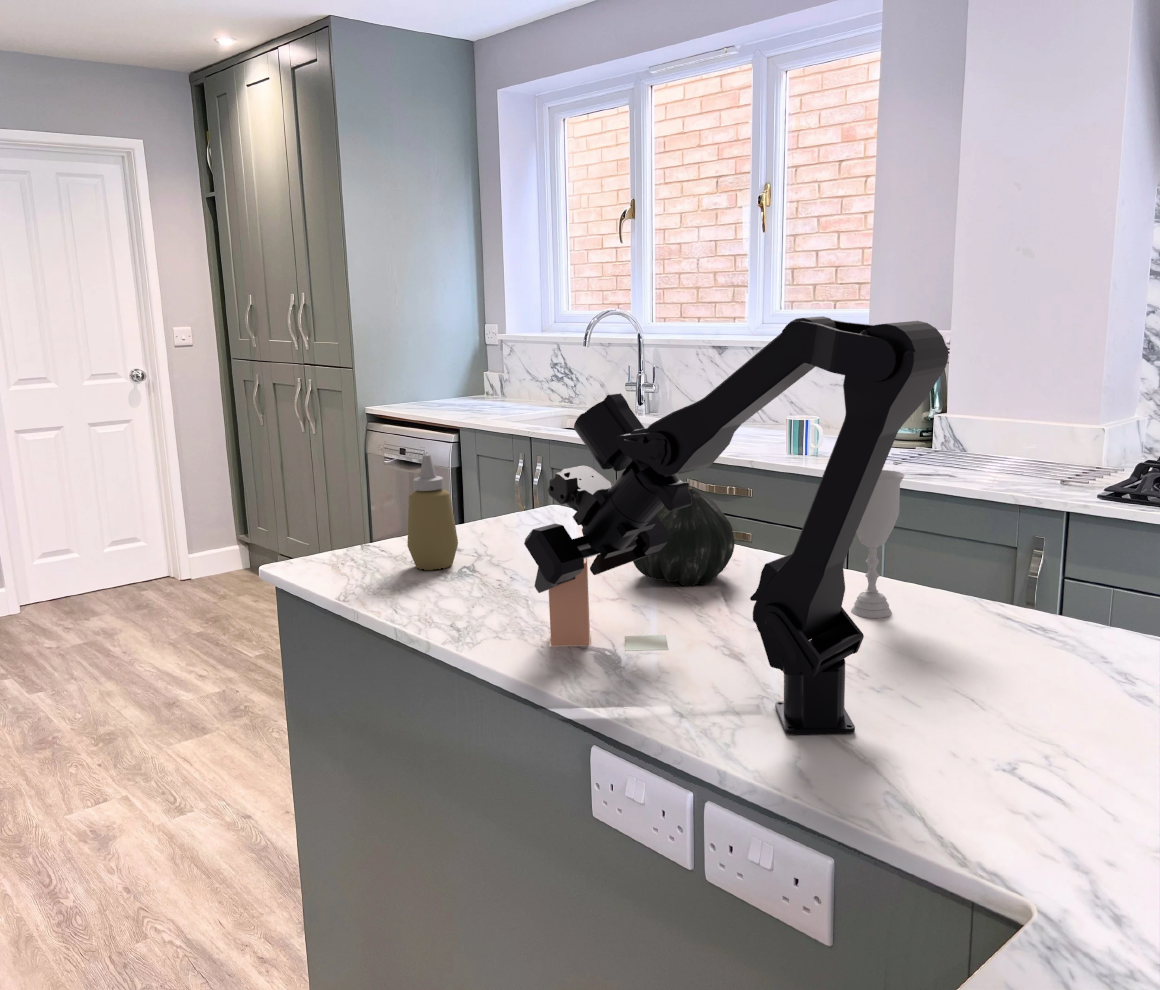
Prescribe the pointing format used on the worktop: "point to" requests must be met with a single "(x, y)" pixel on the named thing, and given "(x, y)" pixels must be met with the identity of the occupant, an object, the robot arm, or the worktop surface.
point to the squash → (691, 543)
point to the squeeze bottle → (431, 521)
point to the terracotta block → (570, 611)
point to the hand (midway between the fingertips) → (565, 580)
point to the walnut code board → (637, 642)
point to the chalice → (878, 540)
